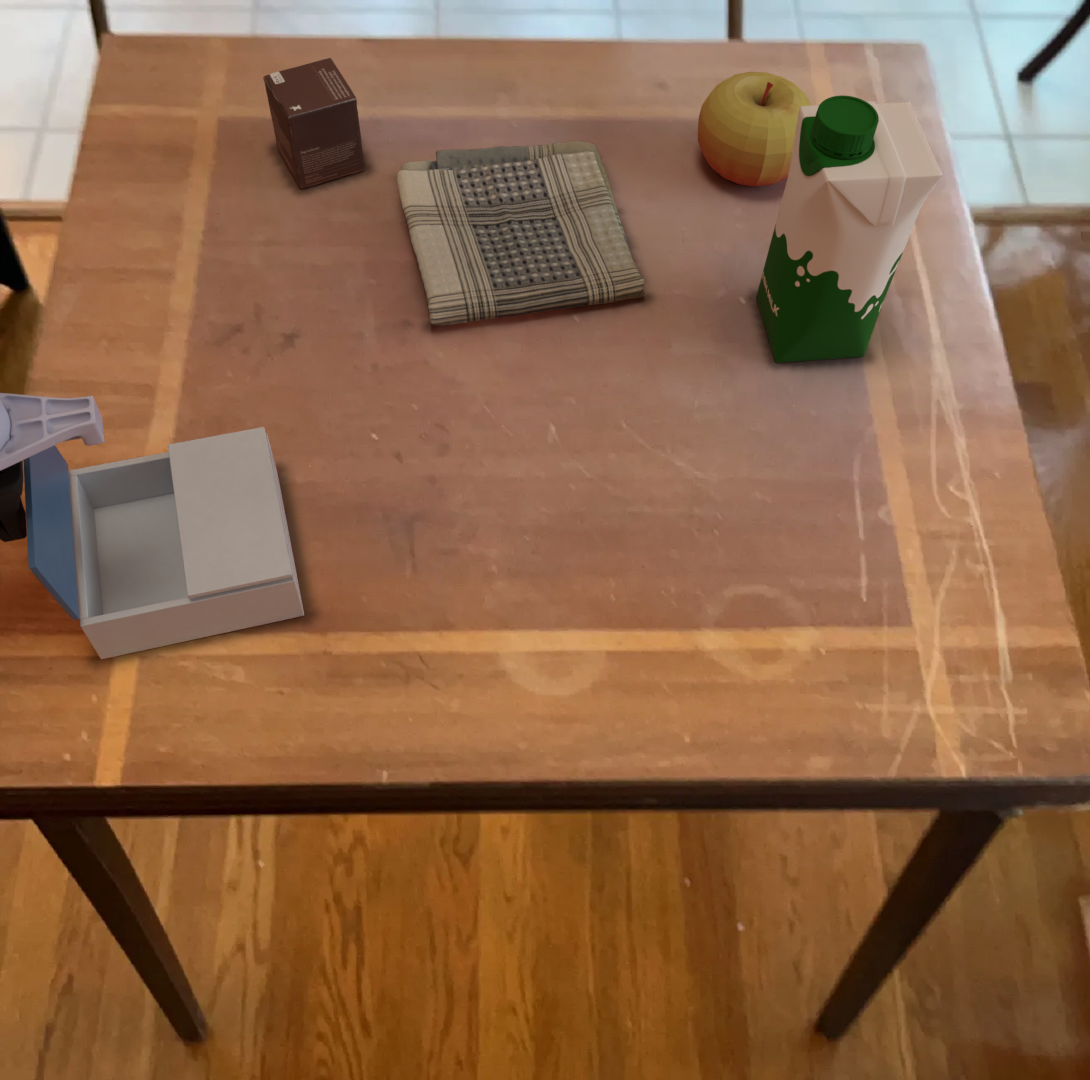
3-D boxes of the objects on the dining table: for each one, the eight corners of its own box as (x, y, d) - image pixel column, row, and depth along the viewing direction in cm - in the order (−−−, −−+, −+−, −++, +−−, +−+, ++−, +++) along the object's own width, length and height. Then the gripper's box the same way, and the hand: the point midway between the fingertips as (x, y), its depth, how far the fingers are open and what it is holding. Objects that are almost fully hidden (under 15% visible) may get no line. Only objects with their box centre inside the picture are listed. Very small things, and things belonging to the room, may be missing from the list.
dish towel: (650, 304, 93) (655, 274, 91) (427, 335, 91) (425, 305, 88) (594, 151, 103) (597, 120, 100) (391, 175, 100) (388, 144, 98)
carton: (100, 659, 75) (76, 619, 70) (88, 508, 81) (64, 462, 76) (304, 616, 77) (293, 574, 73) (277, 472, 83) (265, 425, 79)
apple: (802, 134, 105) (823, 55, 98) (806, 209, 100) (828, 131, 93) (693, 125, 105) (707, 45, 99) (691, 198, 100) (705, 120, 93)
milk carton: (742, 290, 94) (796, 73, 78) (850, 283, 95) (927, 67, 79) (766, 373, 90) (829, 161, 73) (880, 365, 91) (968, 154, 74)
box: (366, 172, 100) (358, 99, 94) (299, 191, 99) (286, 118, 93) (341, 129, 103) (331, 55, 97) (275, 147, 102) (261, 73, 95)
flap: (79, 619, 70) (73, 621, 70) (68, 463, 76) (62, 465, 76) (35, 566, 65) (28, 568, 65) (27, 403, 71) (20, 405, 71)
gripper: (-238, 470, 56) (-115, 608, 68) (74, 413, 59) (142, 556, 70) (-228, 361, 60) (-112, 510, 71) (66, 312, 62) (132, 463, 74)
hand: (14, 526), depth 71 cm, fingers closed
